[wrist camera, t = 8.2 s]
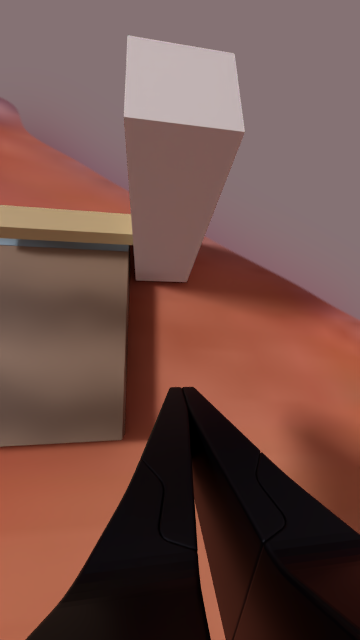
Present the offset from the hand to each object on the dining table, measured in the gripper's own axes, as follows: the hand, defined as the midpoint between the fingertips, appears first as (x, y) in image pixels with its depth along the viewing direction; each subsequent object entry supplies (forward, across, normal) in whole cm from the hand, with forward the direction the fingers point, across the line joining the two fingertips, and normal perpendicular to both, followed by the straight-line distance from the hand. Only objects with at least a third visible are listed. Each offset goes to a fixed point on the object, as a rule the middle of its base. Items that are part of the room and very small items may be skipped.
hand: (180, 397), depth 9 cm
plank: (+10, +8, +2) cm, 13 cm away
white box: (+13, +4, -3) cm, 15 cm away
